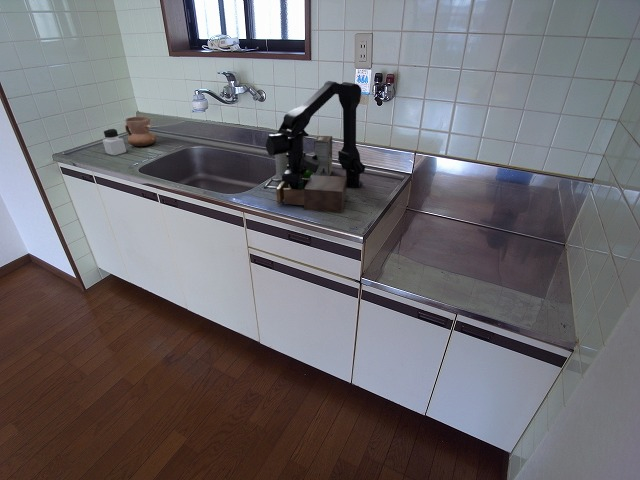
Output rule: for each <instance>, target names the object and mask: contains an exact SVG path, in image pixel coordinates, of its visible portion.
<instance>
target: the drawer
mask: <svg viewBox="0 0 640 480" xmlns="http://www.w3.org/2000/svg"><path fill="white" fill-rule="evenodd" d="M302 180H303V190H301V189H291V188H290V185H289V184H288V182H283V181H282V180H277V179H276V178H275V179H274V178H269V180H267V182H266V183H265V184H264V186H263V190H267V189H270V190H272V189H273V190H276V192H275V193H276V203H277V206H281V205H282V204H283V203H284V204H285V205H296V206H297V205H298V206H304V188H305V186H306V184H307V183H308V181H309V179H304V178H302ZM272 182H276V183H279V185H278V186H271V184H272Z"/></svg>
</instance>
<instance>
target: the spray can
mask: <svg viewBox="0 0 640 480" xmlns="http://www.w3.org/2000/svg"><path fill="white" fill-rule="evenodd" d="M274 134H279V133H278V131H276V132H275V133H274V132H273V135H274ZM287 153H288V151H287V152H286V153H283V154H278V155H274V157H275V158H274V159H275V172H276V175H275V176H276V180H282V175H283V173H284V172H285V171H286V170H291V169H287V165H288V158H286V154H287Z"/></svg>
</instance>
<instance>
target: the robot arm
mask: <svg viewBox="0 0 640 480" xmlns="http://www.w3.org/2000/svg"><path fill="white" fill-rule="evenodd" d="M335 95H337V96H338V101H339V104H340V106H341V108H342V137H343V138H342V140H343V142H342V143H343V146H342V148H341V150H338V152H337V155H338V157H337V161H338V162H339V165H341V169H342V170H345V177H347V186H346V188H360V187H361V184H362V181H361V180H360V179H361V174H363V173H365V170H366V165H364V164H363V163H362V161H361V155H360V152H359V149H358V147H357V108H358V106H359V104H360V102H361V99H362V98H361V97H362V87H361V86H360V85H359V84H358V83H353V82H347V81H344V82H342V83H340V82H339V83H338V82H336V81H332V80H327V81H326V82H324V84H323V85H322V86H321V87H320V88H319V89H318V90H317V91H316V92H315V93H314V94H313V95H311V96H310V97H309V98H308V99H307V100H306V101H305V102H304V103H303V104H302V105H300V106H298V107H295V108H293V109H291V110H290V111H288V112H287V113H285V115H284V117H283V121H282V123H281V124H280V127H279V128H278V130H277V132H278V133H279V134H274V133H273V134H272V133H271V134H268V135H267V136H268V137H267V139H266V142H265V150H266V152H267V154H268V155H269V156H271V157H273V156H274V157H275V155H278V154H283V153H286V152H287V151H288V153H287V154H286V158H288V165H287V169H291V170H286V171H285V172H284V173H283V175H282V181H283V182H288V184H289V188H290V189H298V185H299V182H300V181H301V179H302V178H303V174H304V173H305V172H306V171H307V170H309V171H311V172H313V174H315V173H316V171H317V169H318V167H319V164H320V160H319V161H318V156H317V155H315V154H314V153H313V155H311V156H307V152H306V151H304V149H305V147H304V145H305V144H304V143H305V142H304V138H305V137H309V136H310V134H309V133H308V132H306V130H305V129H306V128H307V126H308V125H309V124H310V121H311V119H312V117H313V116H314V115H315V114H316V113H317V112H318V111H319V110H320V109H321V108H323V106H324V105H325V104H326V103H328V101H330V100H331V99H332V98H333V97H334V96H335Z"/></svg>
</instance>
